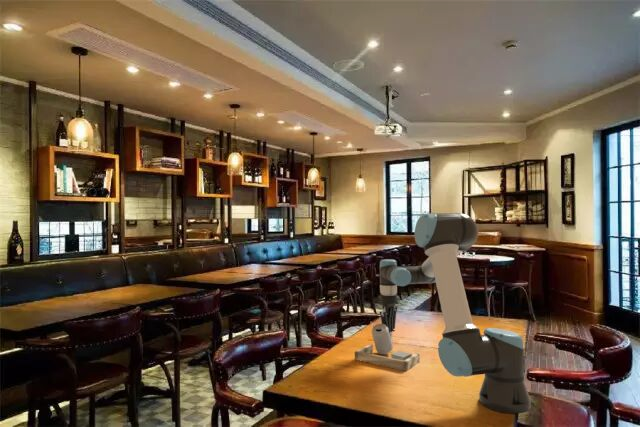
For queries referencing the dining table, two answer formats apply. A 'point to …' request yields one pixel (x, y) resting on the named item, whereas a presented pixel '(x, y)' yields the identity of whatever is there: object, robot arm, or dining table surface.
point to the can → (382, 338)
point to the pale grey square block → (401, 355)
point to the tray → (386, 359)
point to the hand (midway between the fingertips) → (389, 346)
